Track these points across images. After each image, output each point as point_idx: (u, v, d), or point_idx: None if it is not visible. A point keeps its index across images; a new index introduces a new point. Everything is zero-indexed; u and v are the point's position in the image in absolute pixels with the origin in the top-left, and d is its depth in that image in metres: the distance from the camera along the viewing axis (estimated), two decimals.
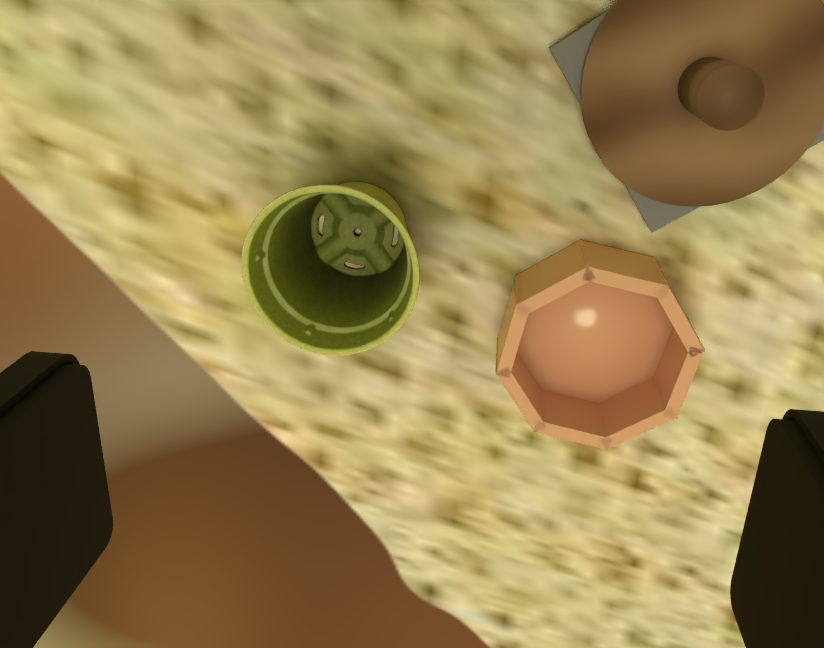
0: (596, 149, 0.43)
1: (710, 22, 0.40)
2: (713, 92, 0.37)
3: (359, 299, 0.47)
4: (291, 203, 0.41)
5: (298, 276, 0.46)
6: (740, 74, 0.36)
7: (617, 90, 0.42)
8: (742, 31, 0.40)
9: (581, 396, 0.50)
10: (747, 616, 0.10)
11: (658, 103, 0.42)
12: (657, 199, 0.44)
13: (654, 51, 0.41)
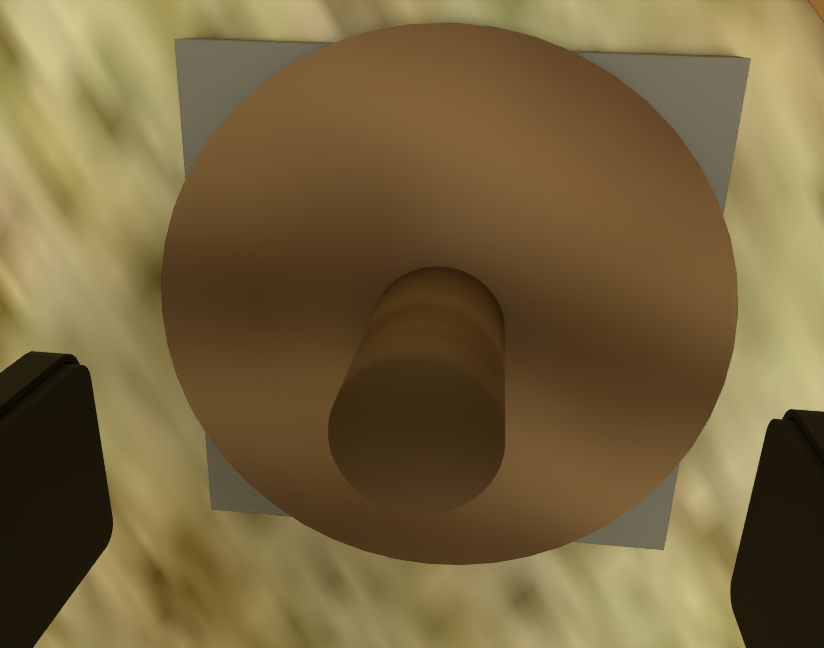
0: (728, 351, 0.17)
1: None
2: (446, 476, 0.13)
3: None
4: None
5: None
6: (367, 473, 0.14)
7: (605, 431, 0.18)
8: (324, 382, 0.19)
9: None
10: (747, 616, 0.10)
11: (547, 358, 0.18)
12: (686, 154, 0.16)
13: None
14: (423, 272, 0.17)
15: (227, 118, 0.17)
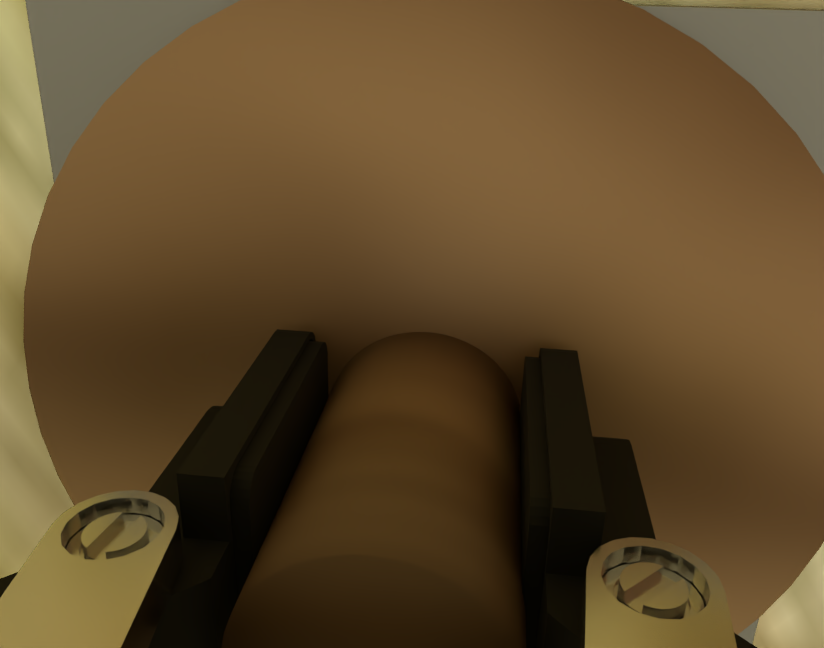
0: None
1: None
2: None
3: None
4: None
5: None
6: None
7: None
8: None
9: None
10: None
11: None
12: (811, 169, 0.10)
13: None
14: (400, 343, 0.11)
15: (100, 111, 0.11)
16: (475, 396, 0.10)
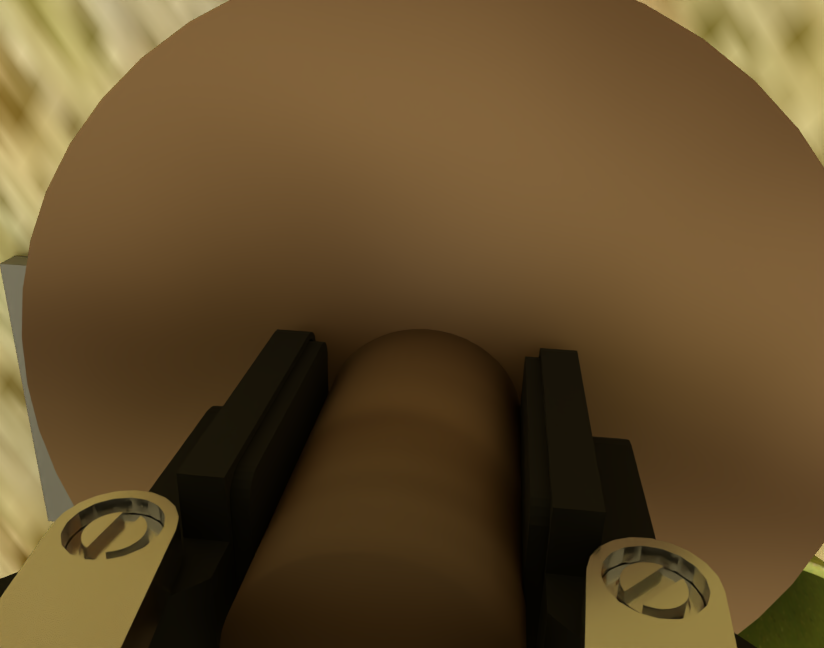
0: None
1: None
2: None
3: None
4: None
5: (800, 584, 0.28)
6: None
7: None
8: None
9: None
10: None
11: None
12: (813, 165, 0.10)
13: None
14: (399, 340, 0.11)
15: (98, 107, 0.11)
16: (475, 393, 0.10)
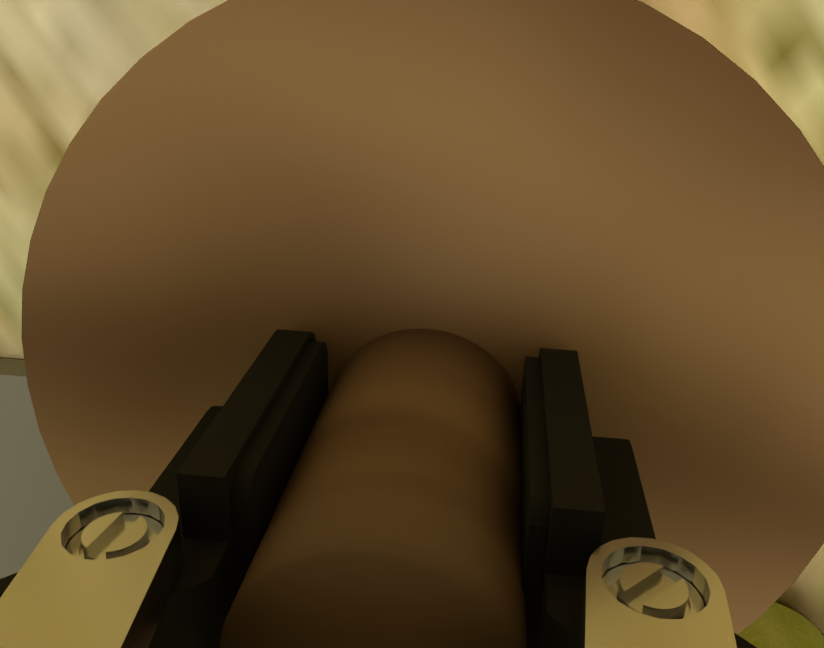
0: None
1: None
2: None
3: None
4: None
5: None
6: None
7: None
8: None
9: None
10: None
11: None
12: (813, 164, 0.10)
13: None
14: (399, 340, 0.11)
15: (98, 106, 0.11)
16: (475, 393, 0.10)
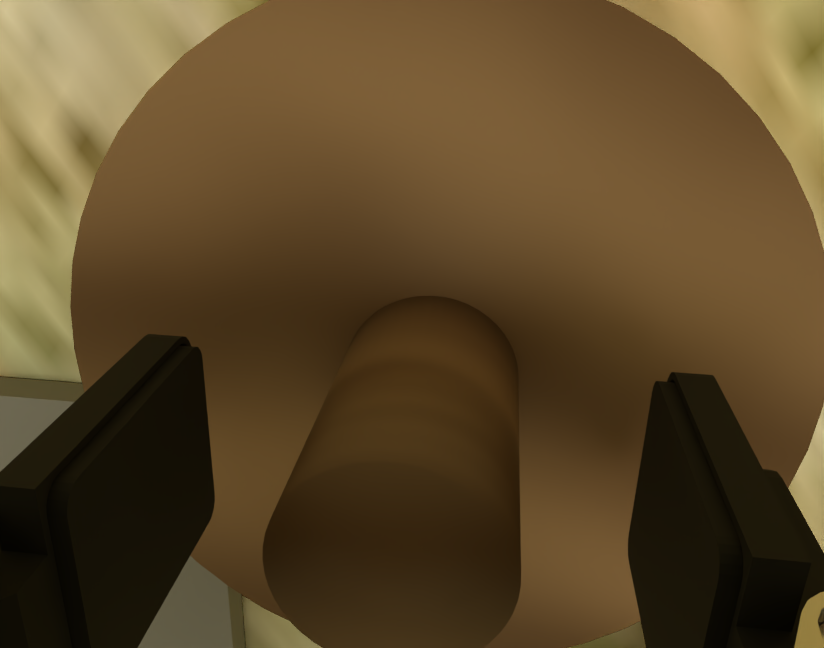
0: (816, 409, 0.13)
1: None
2: (435, 622, 0.09)
3: None
4: None
5: None
6: (321, 615, 0.09)
7: None
8: (285, 440, 0.14)
9: None
10: (636, 564, 0.11)
11: (573, 415, 0.14)
12: (772, 148, 0.11)
13: None
14: (410, 305, 0.13)
15: (145, 98, 0.12)
16: (477, 348, 0.12)
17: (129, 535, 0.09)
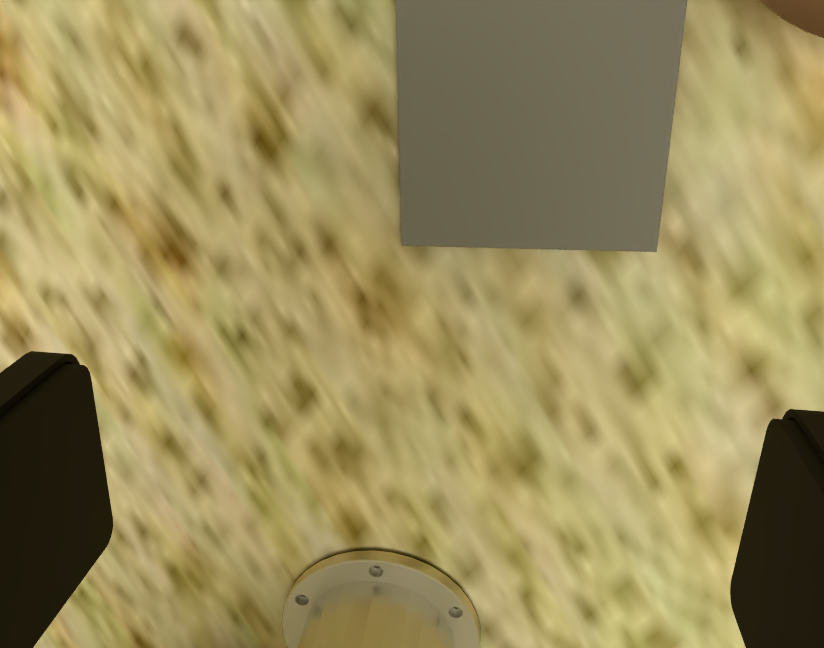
0: None
1: None
2: None
3: None
4: None
5: None
6: None
7: None
8: None
9: None
10: (747, 616, 0.10)
11: None
12: None
13: None
14: None
15: None
16: None
17: None
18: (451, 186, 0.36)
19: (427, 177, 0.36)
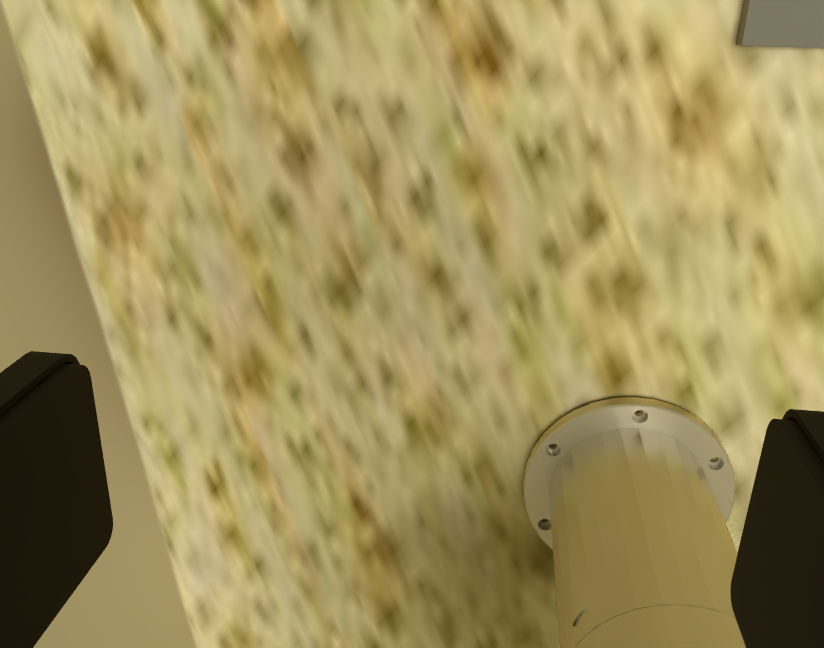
0: None
1: None
2: None
3: None
4: None
5: None
6: None
7: None
8: None
9: None
10: (747, 616, 0.10)
11: None
12: None
13: None
14: None
15: None
16: None
17: None
18: None
19: None
